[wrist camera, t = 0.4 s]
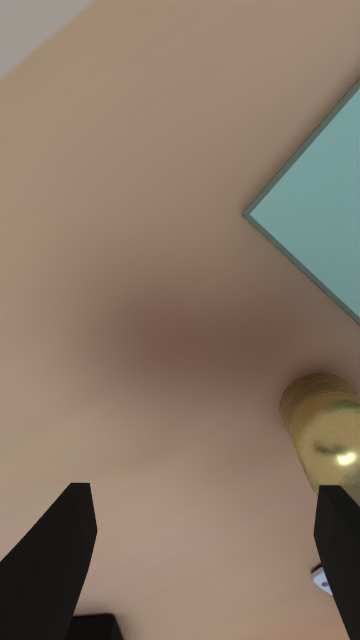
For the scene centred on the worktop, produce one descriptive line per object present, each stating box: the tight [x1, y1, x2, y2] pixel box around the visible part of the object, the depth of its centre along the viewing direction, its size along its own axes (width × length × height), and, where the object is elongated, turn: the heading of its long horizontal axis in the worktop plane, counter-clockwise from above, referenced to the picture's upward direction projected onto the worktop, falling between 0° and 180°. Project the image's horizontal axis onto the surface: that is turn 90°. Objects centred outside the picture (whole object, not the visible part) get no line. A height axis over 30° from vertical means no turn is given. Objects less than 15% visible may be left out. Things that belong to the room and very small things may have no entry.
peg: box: [280, 374, 360, 506], centre depth 16 cm, size 4×4×5 cm
